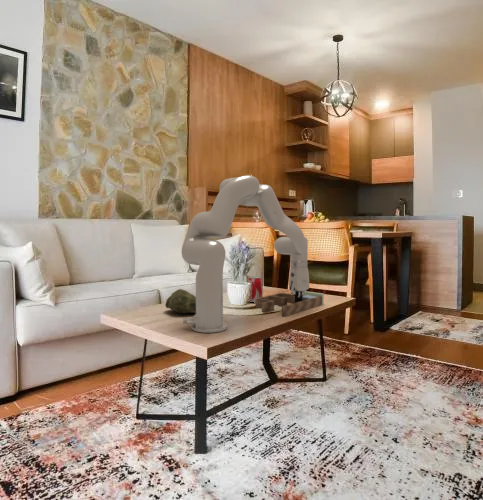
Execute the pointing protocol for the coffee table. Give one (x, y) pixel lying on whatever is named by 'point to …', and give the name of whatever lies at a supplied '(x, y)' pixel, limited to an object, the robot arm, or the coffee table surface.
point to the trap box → (282, 300)
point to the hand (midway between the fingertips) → (298, 305)
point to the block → (307, 297)
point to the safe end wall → (314, 295)
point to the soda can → (255, 287)
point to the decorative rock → (181, 302)
